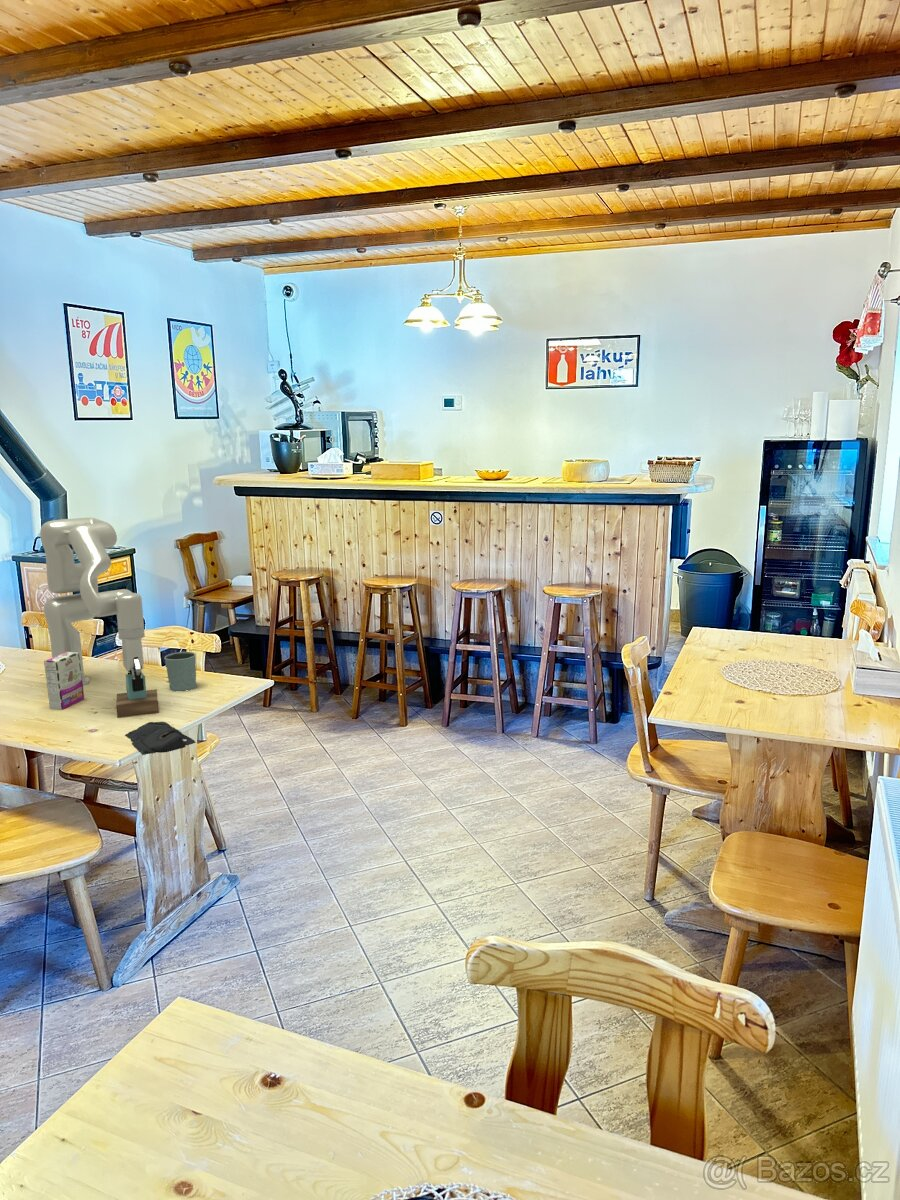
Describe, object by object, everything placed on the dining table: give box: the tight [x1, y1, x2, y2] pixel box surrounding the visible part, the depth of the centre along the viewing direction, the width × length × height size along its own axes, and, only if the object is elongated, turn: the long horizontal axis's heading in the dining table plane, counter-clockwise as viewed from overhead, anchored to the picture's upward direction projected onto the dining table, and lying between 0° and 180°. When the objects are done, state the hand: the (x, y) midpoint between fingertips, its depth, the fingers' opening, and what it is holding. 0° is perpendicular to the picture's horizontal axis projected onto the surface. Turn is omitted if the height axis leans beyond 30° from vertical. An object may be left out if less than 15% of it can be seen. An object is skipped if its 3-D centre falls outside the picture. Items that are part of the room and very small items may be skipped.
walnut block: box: [115, 688, 159, 719], centre depth 252 cm, size 12×12×5 cm
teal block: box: [125, 672, 147, 700], centre depth 251 cm, size 5×5×7 cm
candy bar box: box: [43, 652, 85, 711], centre depth 257 cm, size 11×5×16 cm, turn 168°
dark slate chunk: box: [124, 721, 197, 756], centre depth 226 cm, size 15×22×5 cm
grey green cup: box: [164, 651, 197, 692], centre depth 273 cm, size 10×10×12 cm
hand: (136, 687), depth 251 cm, fingers open, 7 cm apart
